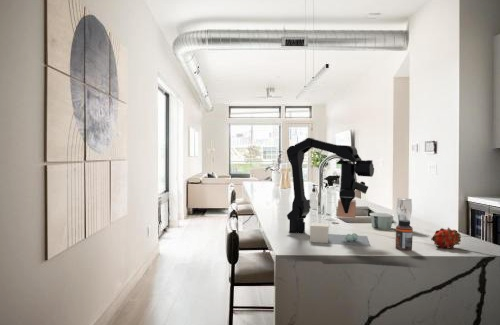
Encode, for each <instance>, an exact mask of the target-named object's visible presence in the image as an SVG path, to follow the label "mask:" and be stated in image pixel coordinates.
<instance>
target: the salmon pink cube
mask: <svg viewBox="0 0 500 325" xmlns="http://www.w3.org/2000/svg"><path fill="white" fill-rule="evenodd" d="M337 200H338V201H337V217H339V218H341V217H342V218H352V219H353V218H354V219H356V207H357V201H356V199H353V200H352V201H351V202H350V206H349V210H348V213H345V212H344V209H343V206H342V203H341V200H340V198H339V199H337Z"/></svg>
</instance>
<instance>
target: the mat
mask: <svg viewBox="0 0 500 325" xmlns="http://www.w3.org/2000/svg"><path fill="white" fill-rule="evenodd" d="M346 235H347V234H334V233H329V235H328V243H322V242H310V239H309V240H308V243H310V244H311V243H312V244H328V245H342V246H343V245H344V246H357V247H358V246H359V247H371V243H370V240H369V238H368V236H367V235H358V239H357V240H356V241H353V240H352V241H346V239H345V236H346Z"/></svg>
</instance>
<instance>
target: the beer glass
mask: <svg viewBox="0 0 500 325" xmlns="http://www.w3.org/2000/svg"><path fill="white" fill-rule="evenodd" d="M412 212H413V201H412V198H404V197H403V198H400V197H399V198H397V200H396V215H397V226H398V225H399V220H409V221H410V222H411V217H412Z"/></svg>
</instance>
